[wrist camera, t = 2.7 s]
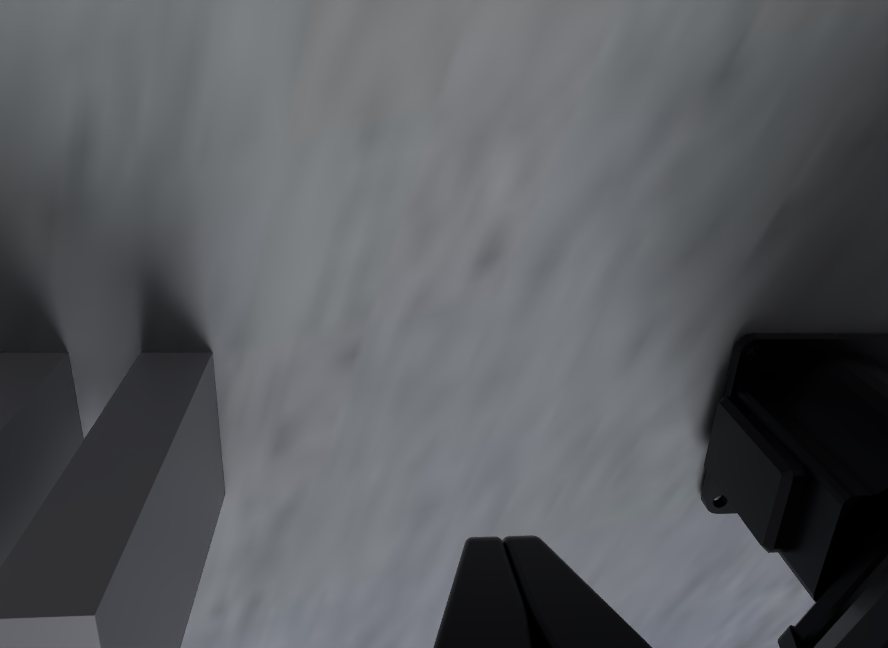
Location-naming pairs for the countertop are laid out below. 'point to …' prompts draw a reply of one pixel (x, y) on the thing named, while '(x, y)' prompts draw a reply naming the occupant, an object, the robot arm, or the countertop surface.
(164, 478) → the domino
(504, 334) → the countertop surface
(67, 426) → the domino
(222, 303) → the countertop surface
